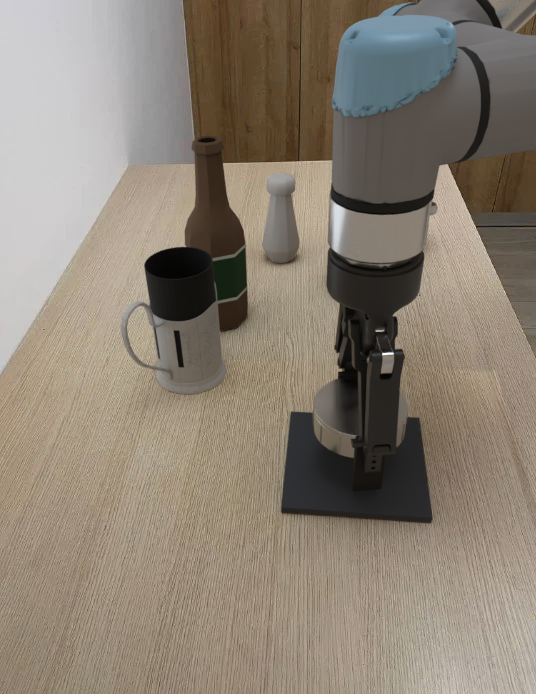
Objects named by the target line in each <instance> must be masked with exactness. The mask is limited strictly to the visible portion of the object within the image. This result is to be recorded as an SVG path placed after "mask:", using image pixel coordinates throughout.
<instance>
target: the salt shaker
mask: <svg viewBox="0 0 536 694" xmlns="http://www.w3.org/2000/svg"><path fill="white" fill-rule="evenodd" d="M265 186H266V192H267V193H268V194H269V195H270V196H269V202H268V206H267V207H268V208H267V214H266V218H265V219H266V220H265V227H264V231H263V236H262V237H263V238H262V244H261V245H262V249H263V251H264V253H265V255H266V257H267V259H269V260H270V261H271V262H273V263H276V264H283V263H284V264H285V263H288V262H291V261H292V260H294V259H295V258H296V255H297V253H298V251H299V248H300V237H299V230H298V225H297V221H296V215H295V214H296V213H295V209H294V203H293V196H292V195H293V193H295V191H296V178H295V176H293V175H292V174H291V173H288V172H276V173H272V174H271V175H269V176H268V177H267V178H266V185H265Z"/></svg>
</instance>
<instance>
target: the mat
mask: <svg viewBox="0 0 536 694" xmlns="http://www.w3.org/2000/svg"><path fill="white" fill-rule="evenodd" d="M312 414H313V411H312V412H311V411H290V415H289V426H288V435H287V443H286V444H287V446H286V455H285V465H284V476H283V483H282V484H283V485H282V495H281V496H282V497H281V505H280V512H281V513H282V514H283V513H284V514H296V515H297V514H298V515H312V516H326V517H327V516H328V517H341V518H354V519H355V518H356V519H369V520H385V521H399V522H412V523H427V524H431V523H432V522H433V509H432V504H431V503H432V502H431V495H430V487H429V486H430V485H429V478H428V473H427V464H426V457H425V450H424V441H423V434H422V426H421V420H420V417H412V416H407V422H406V429H405V435H404V438H403V441H402V442H401V443H400V445H399V446H398V447H397V450H396V453H395V454H393V455H386V456H385V464H384V471H383V478H382V486H381V489H378V490H363V491H352V487H351V482H352V471H353V460H354V458H350V457H345V456H342V455H339V454H336V453H334V452H332V451H331V450H329V449H327V448H326V447H325V446H323V445H322V444H321V443H320V442H319V440H318V439H317V437H316V435H315V433H314V430H313V427H312Z"/></svg>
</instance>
